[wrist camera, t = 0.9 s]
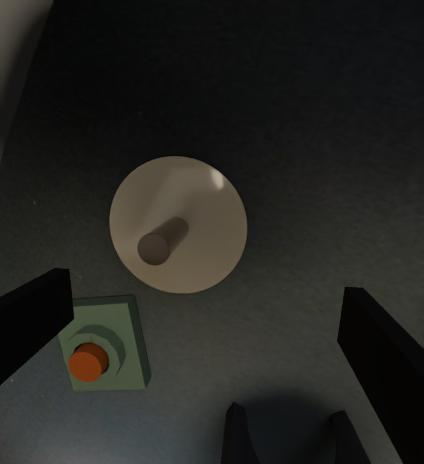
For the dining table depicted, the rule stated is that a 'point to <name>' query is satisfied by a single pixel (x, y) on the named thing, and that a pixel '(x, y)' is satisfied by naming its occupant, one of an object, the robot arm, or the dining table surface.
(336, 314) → the dining table surface
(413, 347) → the robot arm
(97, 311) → the block
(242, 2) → the dining table surface
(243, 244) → the lid
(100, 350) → the button
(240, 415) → the planter
